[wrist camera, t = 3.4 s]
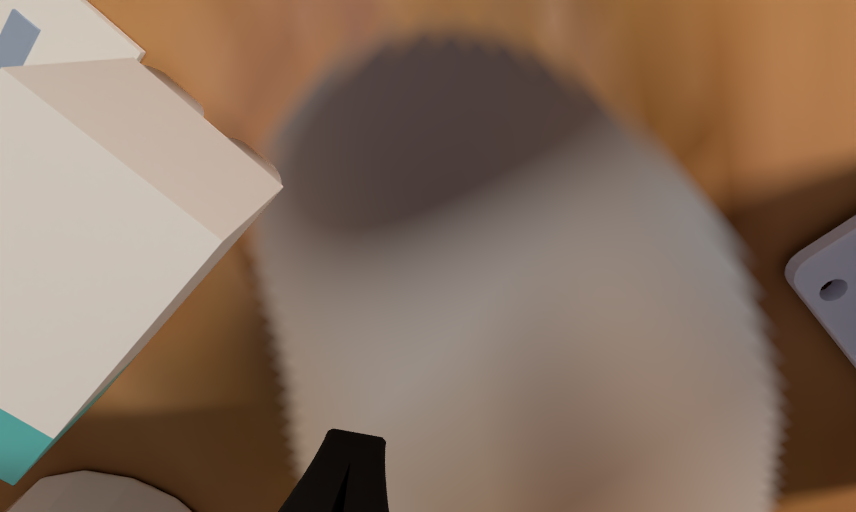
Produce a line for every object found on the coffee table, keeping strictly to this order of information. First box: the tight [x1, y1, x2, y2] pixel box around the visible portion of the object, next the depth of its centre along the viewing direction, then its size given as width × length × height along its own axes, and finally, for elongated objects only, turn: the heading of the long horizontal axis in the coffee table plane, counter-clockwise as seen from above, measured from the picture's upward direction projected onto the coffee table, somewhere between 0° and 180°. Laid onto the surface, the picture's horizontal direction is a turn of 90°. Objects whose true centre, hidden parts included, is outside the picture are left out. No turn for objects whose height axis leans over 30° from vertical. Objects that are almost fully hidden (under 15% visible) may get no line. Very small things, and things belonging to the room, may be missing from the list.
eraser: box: [0, 58, 283, 486], centre depth 9 cm, size 8×3×3 cm, turn 136°
